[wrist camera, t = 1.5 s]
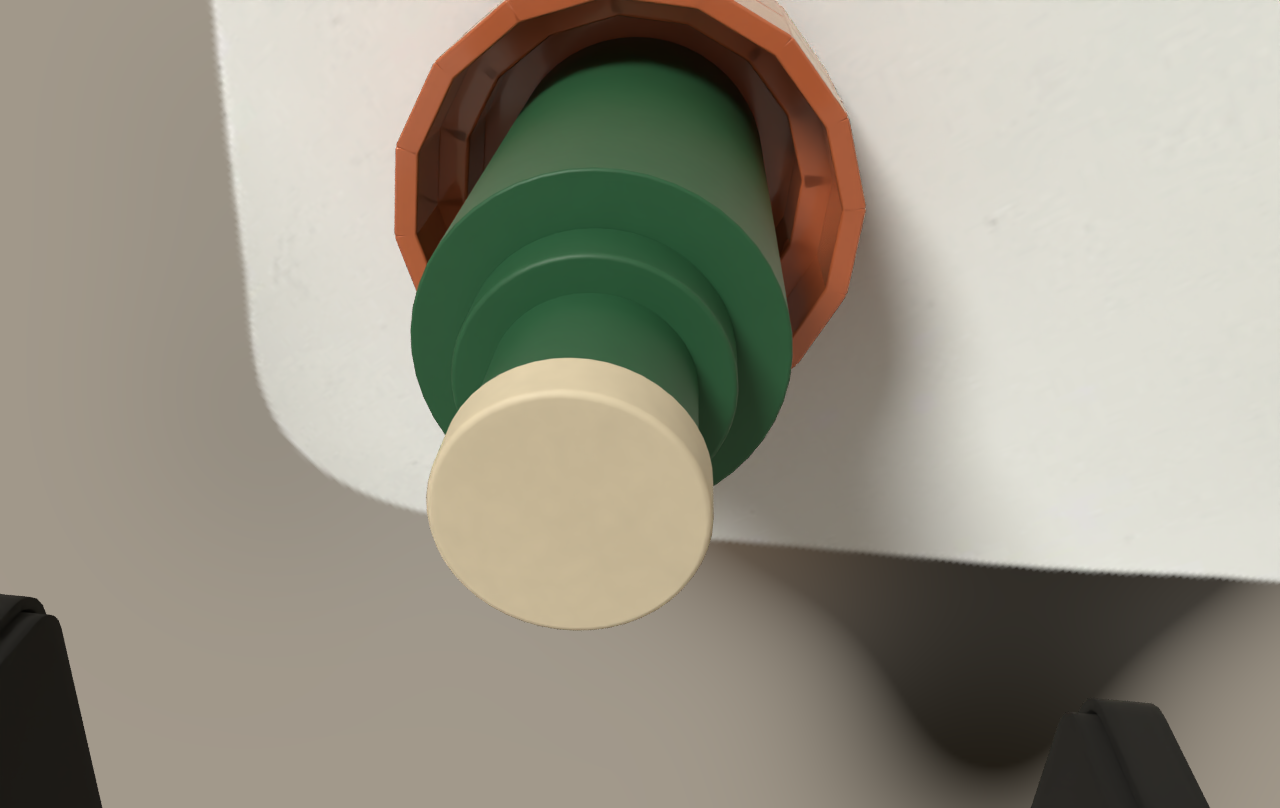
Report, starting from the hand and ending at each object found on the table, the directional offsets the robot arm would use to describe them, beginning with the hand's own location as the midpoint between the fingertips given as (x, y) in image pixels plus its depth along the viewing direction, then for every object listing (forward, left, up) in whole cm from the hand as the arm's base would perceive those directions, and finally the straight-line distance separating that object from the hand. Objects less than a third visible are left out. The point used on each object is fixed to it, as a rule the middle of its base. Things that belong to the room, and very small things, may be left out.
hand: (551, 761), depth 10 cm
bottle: (0, 0, -20) cm, 20 cm away
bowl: (0, 0, -20) cm, 20 cm away
